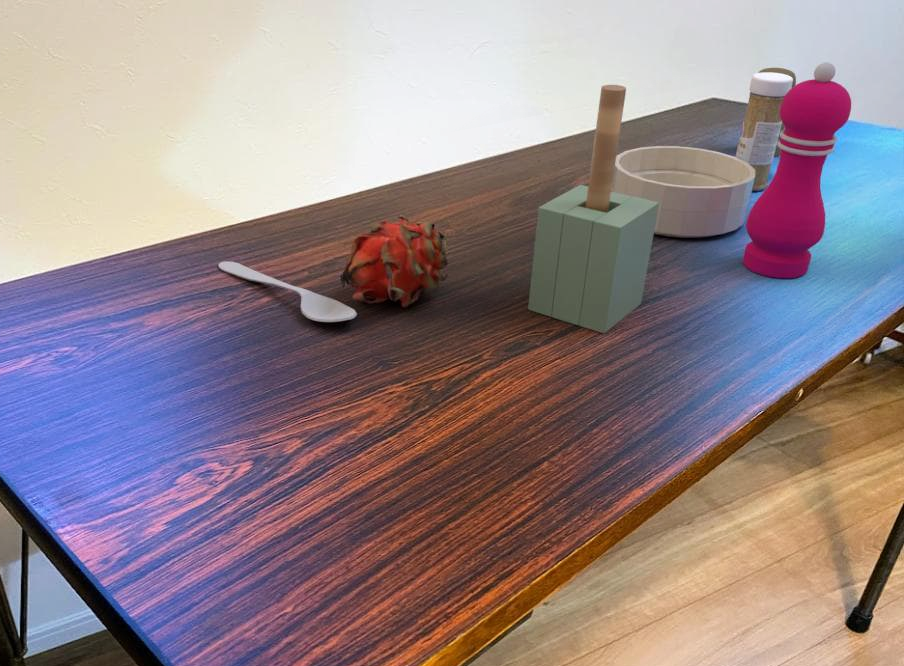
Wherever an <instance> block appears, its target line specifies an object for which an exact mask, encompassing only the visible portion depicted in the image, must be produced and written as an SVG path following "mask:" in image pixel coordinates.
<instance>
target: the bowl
mask: <svg viewBox="0 0 904 666" xmlns="http://www.w3.org/2000/svg"><path fill="white" fill-rule="evenodd" d="M754 179H755V169H754V168H753V167H752V166H751V165H750V164H749V163H747V162H745V161H743V160H740V159H738V158H736V156H733V155H729V154H728V153H727V154H726V153H723V152H720V151H716V150H710V149H706V148H705V149H704V148H699V147H690V146H679V145H656V146H654V145H653V146H643V147H637V148H634V149H627V150H624V151H623V152H621V153H619V154H617V155H616V162H615V169H614V176H613V183H612V189H611V192H615V193H619V194H624V195H628V196H632V197H637V198H642V199H646V200H650V201H655V202H659V207H658V212H657V218H656V223H655V229H654V235H659V236H663V237H671V238H686V239H689V238H691V239H692V238H693V239H694V238H709V237H713V236H714V237H715V236H718V235H724V234H726V233H727V234H728V233H730V232H733V231H736V230H738V229H739V228H740V227H741V226H743V225H744V224H745V223H746V222H745V221H746V218H747V214H748V210H749V209H748V208H749V205H750V200H751V196H752V192H753V191H752V188H753V184H754Z"/></svg>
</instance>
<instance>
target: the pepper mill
mask: <svg viewBox="0 0 904 666" xmlns="http://www.w3.org/2000/svg"><path fill="white" fill-rule="evenodd" d="M835 75H836V67H835V66H834V64H832V63H831V62H822V63H820V64H818V65H817V66H816V67H815V68H814V71H813V77H814V79H808V80H807V79H806V80H804V81H801V82H799V83H796V85H795V86H794V87H792V88H791V89H790V90H789V91H788V92H787V94H786V95H785V97H784V99H783V101H782V104H781V107H780V118H781V120H782V122H783V124H784V126H785V130H782V131H781V132H780V140H779V141H778V143H777V145H778V147H779V148H780V149H781V153H780V156H779V161H778V164H777V167H776V171H775V173H774V175H773V177H772V179H771V181H770V183H769V184H767V187H766V188H765V189H764V191H763V192H762V193H761V194H760V196H759V197H758V199H756V201H755V202H754V203H753V206H752V207H751V209H750V211H749V213H748V216H747V219H746V222H745V230H746V232H747V235H748V237H749V238H750V240H751V241H750V242H748V243H747V244H746V245H745V248H744V252H743V256H742V264H743V266H744V267H745V268H746V269H747V270H748V271H750V272H753V273H754V274H755V273H756V274H758V275H760V276H765V277H767V278H774V279H795V278H800V277H802V276H804V275H805V274H807V272H808V270H809V266H810V263H811V260H812V253H811V252H810V251H809V249H811V248H813V247H814V246H816V245H817V244H819V242H820V241H821V240H822V239H823V236H824V235H825V227H826V210H825V205H824V201H823V200H824V199H823V196H822V189H821V178H822V173H823V168H824V165H825V163H826V159H827V158H828V155H831V154H833V152H834V151H835V143H837V141H838V138H837V136H836V135H835V134H836V133H837V132H838V131H839V130H841V128H843V127H844V126H845V124H846V123H847V122H848V121H849V118H850V116H851V112H852V99H851V98H852V97H851V95H850V93H849V92H848V90H847V89H846V88H845V87H844V86H843V85H841V83H839V82H836V81H833V79H834V78H835Z"/></svg>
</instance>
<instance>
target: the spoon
mask: <svg viewBox="0 0 904 666" xmlns="http://www.w3.org/2000/svg"><path fill="white" fill-rule="evenodd" d="M218 268H219V269H220V270H221V271H223V272H225V273H226V274H227V273H228V274H230V275H233V276H235V277H238V278H241V279H244V280H247V281H250V282H255V283H261V284H264V285H265V284H266V285H270V286H275V287H278V288H282V289H285V290H288V291H291V292H293V293H296V294H298V295H300V312H301V314H302V315H303V316H304V317H306V319H309V320H312V321H313V322H314V321H315V322H320V323H337V322H344V321H348V320H353V319H355V318H356V317H357V315H358V313H357V312H356V310H355V309H354V308H352V307H350V306H348V305H346V304H345V303H342V302H341V301H338V300H336V299H334V298H331V297H328V296H325V295H322V294H319V293H317V292H313V291H311V290H310V289H309V290H308V289H305V288H302V287H299V286H295V285H292V284H289V283H286V282H285V281H282V280H279V279H278V278H277V279H276V278H274V277H272V276H270V275H267V274H264V273H262V272H260V271H256V270H255V269H252V268H249V267H247V266H245V265H243V264H241V263H238V262H235V261H221V262H219V263H218Z"/></svg>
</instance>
